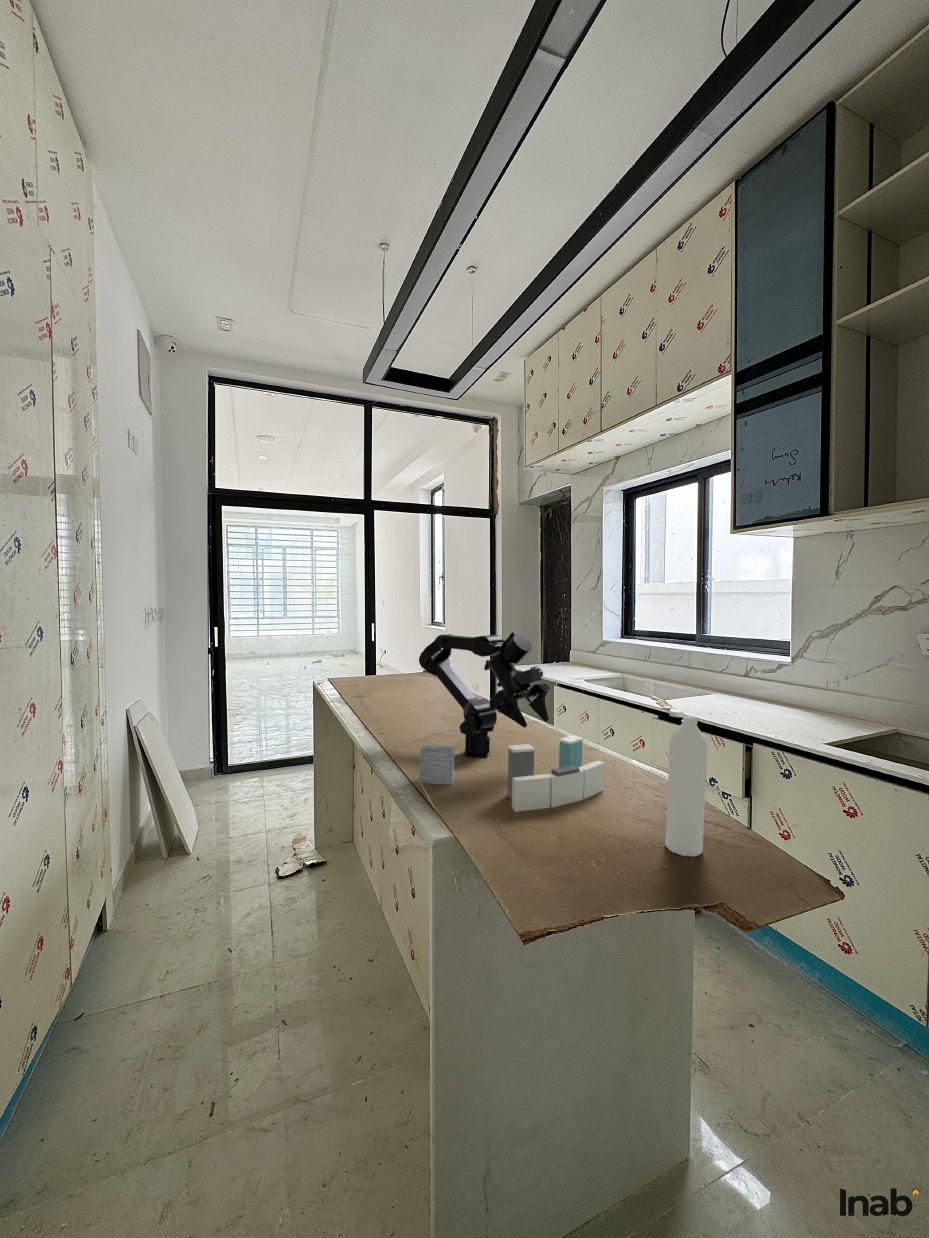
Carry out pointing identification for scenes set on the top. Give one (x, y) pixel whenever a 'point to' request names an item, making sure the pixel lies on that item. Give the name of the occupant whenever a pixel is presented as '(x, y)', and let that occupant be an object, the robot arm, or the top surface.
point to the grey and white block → (519, 763)
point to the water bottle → (686, 788)
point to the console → (557, 787)
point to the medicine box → (437, 764)
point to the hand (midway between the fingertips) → (536, 723)
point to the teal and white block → (570, 751)
